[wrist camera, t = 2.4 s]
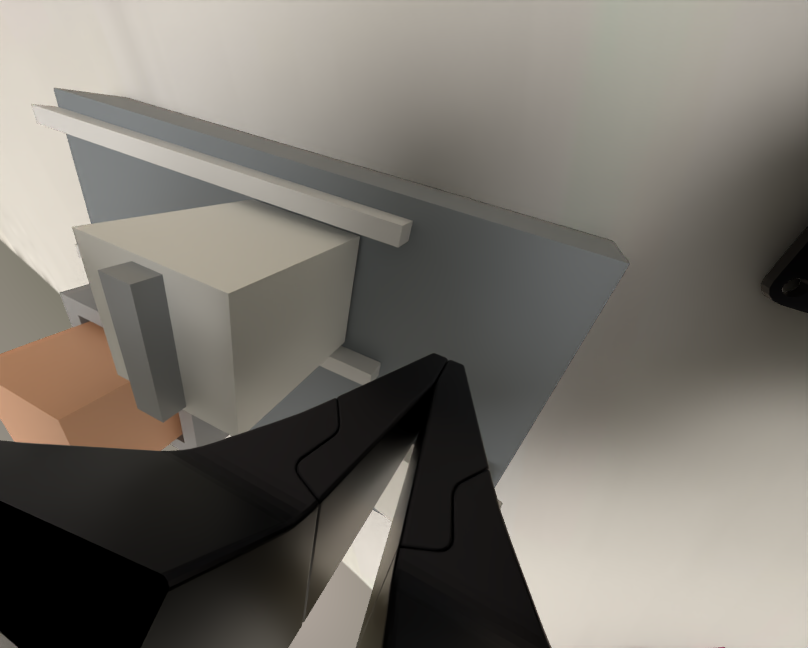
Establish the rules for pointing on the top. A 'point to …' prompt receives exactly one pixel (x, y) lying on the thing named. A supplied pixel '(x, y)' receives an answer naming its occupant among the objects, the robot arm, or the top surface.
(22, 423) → the button
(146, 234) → the slider
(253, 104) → the top surface
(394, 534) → the robot arm
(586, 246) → the panel
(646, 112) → the top surface
